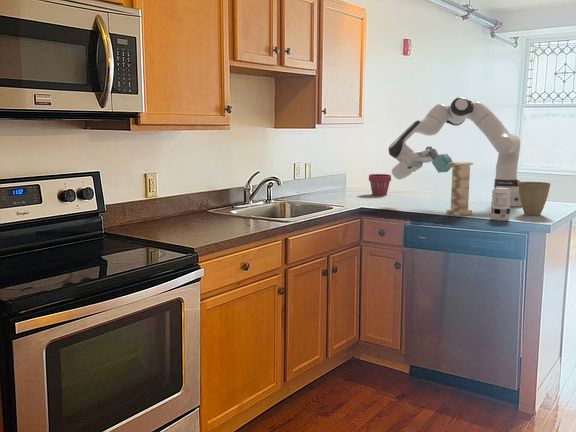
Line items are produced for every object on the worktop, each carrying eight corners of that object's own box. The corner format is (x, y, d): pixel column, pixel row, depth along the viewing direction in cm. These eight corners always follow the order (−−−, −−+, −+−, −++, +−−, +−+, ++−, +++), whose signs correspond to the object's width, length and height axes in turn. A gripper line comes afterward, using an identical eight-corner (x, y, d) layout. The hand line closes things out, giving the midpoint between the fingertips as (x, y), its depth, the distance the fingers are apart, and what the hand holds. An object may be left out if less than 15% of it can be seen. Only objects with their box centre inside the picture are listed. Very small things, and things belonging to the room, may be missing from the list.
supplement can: (487, 218, 282) (489, 187, 280) (501, 217, 285) (502, 186, 282) (498, 221, 275) (500, 189, 272) (513, 220, 277) (514, 188, 275)
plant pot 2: (553, 214, 293) (555, 182, 290) (540, 217, 283) (542, 185, 280) (524, 211, 304) (526, 180, 301) (510, 214, 293) (512, 182, 291)
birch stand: (446, 213, 296) (448, 162, 292) (457, 212, 302) (459, 161, 297) (460, 216, 289) (462, 163, 285) (472, 214, 294) (474, 162, 290)
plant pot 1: (394, 195, 368) (395, 175, 366) (374, 196, 364) (374, 176, 362) (384, 193, 382) (385, 173, 380) (364, 193, 378) (365, 174, 376)
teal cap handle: (422, 149, 306) (430, 140, 301) (431, 148, 310) (439, 139, 305) (438, 172, 299) (446, 163, 294) (447, 171, 303) (455, 163, 298)
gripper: (429, 166, 321) (447, 154, 310) (403, 168, 309) (421, 156, 299) (425, 156, 323) (443, 144, 312) (399, 157, 311) (416, 145, 300)
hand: (432, 150), depth 305 cm, fingers closed on teal cap handle, 3 cm apart
